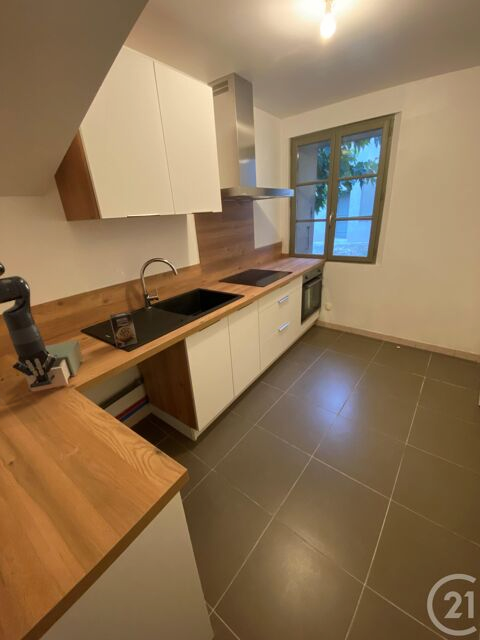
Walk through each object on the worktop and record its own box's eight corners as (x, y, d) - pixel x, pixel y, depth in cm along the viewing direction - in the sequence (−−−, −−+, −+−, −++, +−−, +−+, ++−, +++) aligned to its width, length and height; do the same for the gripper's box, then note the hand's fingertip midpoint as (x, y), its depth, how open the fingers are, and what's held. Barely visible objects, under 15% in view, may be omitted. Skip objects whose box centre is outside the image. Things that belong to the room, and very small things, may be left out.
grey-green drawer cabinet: (75, 376, 103) (68, 356, 100) (38, 383, 100) (30, 362, 97) (83, 359, 116) (77, 340, 113) (51, 364, 113) (44, 346, 110)
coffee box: (118, 350, 122) (110, 318, 116) (116, 345, 127) (108, 314, 121) (138, 345, 126) (131, 313, 121) (135, 340, 132) (128, 310, 126)
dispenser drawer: (63, 392, 92) (56, 374, 89) (25, 400, 89) (17, 382, 86) (76, 366, 108) (71, 351, 106) (45, 372, 105) (39, 356, 103)
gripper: (53, 330, 90) (68, 373, 96) (8, 337, 87) (27, 381, 93) (46, 339, 83) (62, 384, 90) (-4, 347, 80) (17, 394, 86)
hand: (44, 383), depth 91 cm, fingers closed
